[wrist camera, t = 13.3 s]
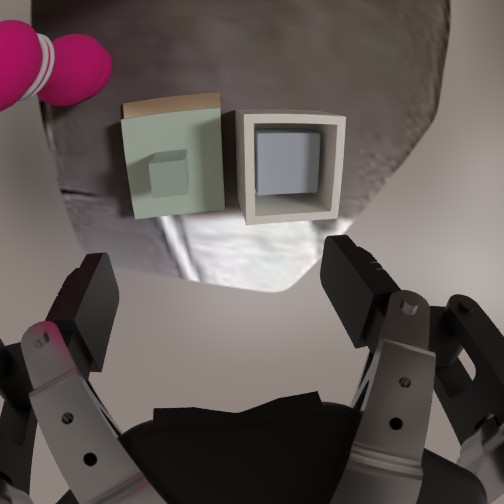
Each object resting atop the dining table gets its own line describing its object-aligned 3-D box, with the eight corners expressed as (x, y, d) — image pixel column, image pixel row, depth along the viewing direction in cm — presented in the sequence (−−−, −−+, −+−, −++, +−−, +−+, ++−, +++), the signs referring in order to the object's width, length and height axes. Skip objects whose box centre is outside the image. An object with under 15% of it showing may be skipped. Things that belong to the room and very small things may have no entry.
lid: (126, 117, 26) (105, 125, 20) (218, 107, 27) (223, 110, 21) (138, 211, 31) (125, 241, 25) (223, 202, 33) (229, 231, 26)
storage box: (234, 110, 28) (243, 114, 22) (317, 110, 29) (345, 116, 23) (237, 198, 33) (246, 225, 27) (313, 194, 34) (337, 218, 28)
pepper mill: (110, 30, 21) (3, -26, 4) (123, 89, 25) (12, 93, 8) (52, 57, 21) (-80, 54, 4) (65, 113, 24) (-67, 160, 7)
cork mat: (124, 103, 25) (123, 103, 25) (219, 92, 27) (219, 92, 26) (138, 216, 32) (138, 218, 32) (224, 208, 33) (225, 209, 33)
